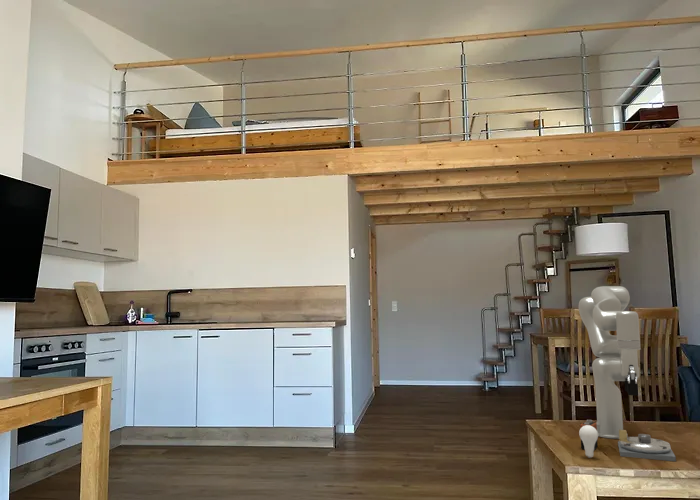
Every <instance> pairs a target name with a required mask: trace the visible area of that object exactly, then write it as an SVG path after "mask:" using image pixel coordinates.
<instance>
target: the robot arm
mask: <svg viewBox="0 0 700 500" xmlns="http://www.w3.org/2000/svg"><path fill="white" fill-rule="evenodd" d="M630 299H631V297H630V292H629V290H628V289H627V288H626V287H625V286H622V285H621V286H620V285H611V286H608V285H607V286H606V285H603V286H596V287H595V288H594V289H593V290H592V291H591V294H590V296H584V297H582V298H581V299H580V300H579V302H578V313H579V316H580V318H581V321H582V322H583V325H584V326H585V328H586V331H587V333H588V338H589V343H590V348H591V351H592V353H593V355H594V356H595V357H597V358H595V359H594V360H593V361H592V363H591V369H592V373H593V379H594V387H595V402H596V404H595V405H596V422H595V423H596V424H597V432H598V438H599V437H601V438H604V439H614V440H615V439H616V440H617V439H618V440H619V429H620V430H624V424H623V423H624V422H623V421H624V419H623V406H622V401H623V400H622V393H621V390H620V389H619V387H618V386H617V385H616V384H615V382H624V391H625V392H626V393H627V395H628V396H639V387H638V385H639V384H638V379H639V377H640V368H639V359H638V351H640V350H642V349H641V338H640V337H641V336H640V333H641V332H640V319H639V314H638V312H637V311H631V310H626V308H627V307H628V305H629V304H630ZM611 331H613V332H615V331H616V335H615V334H614V335H612V334H611V333H610V332H611ZM627 437H629V436H628V433H627Z"/></svg>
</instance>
